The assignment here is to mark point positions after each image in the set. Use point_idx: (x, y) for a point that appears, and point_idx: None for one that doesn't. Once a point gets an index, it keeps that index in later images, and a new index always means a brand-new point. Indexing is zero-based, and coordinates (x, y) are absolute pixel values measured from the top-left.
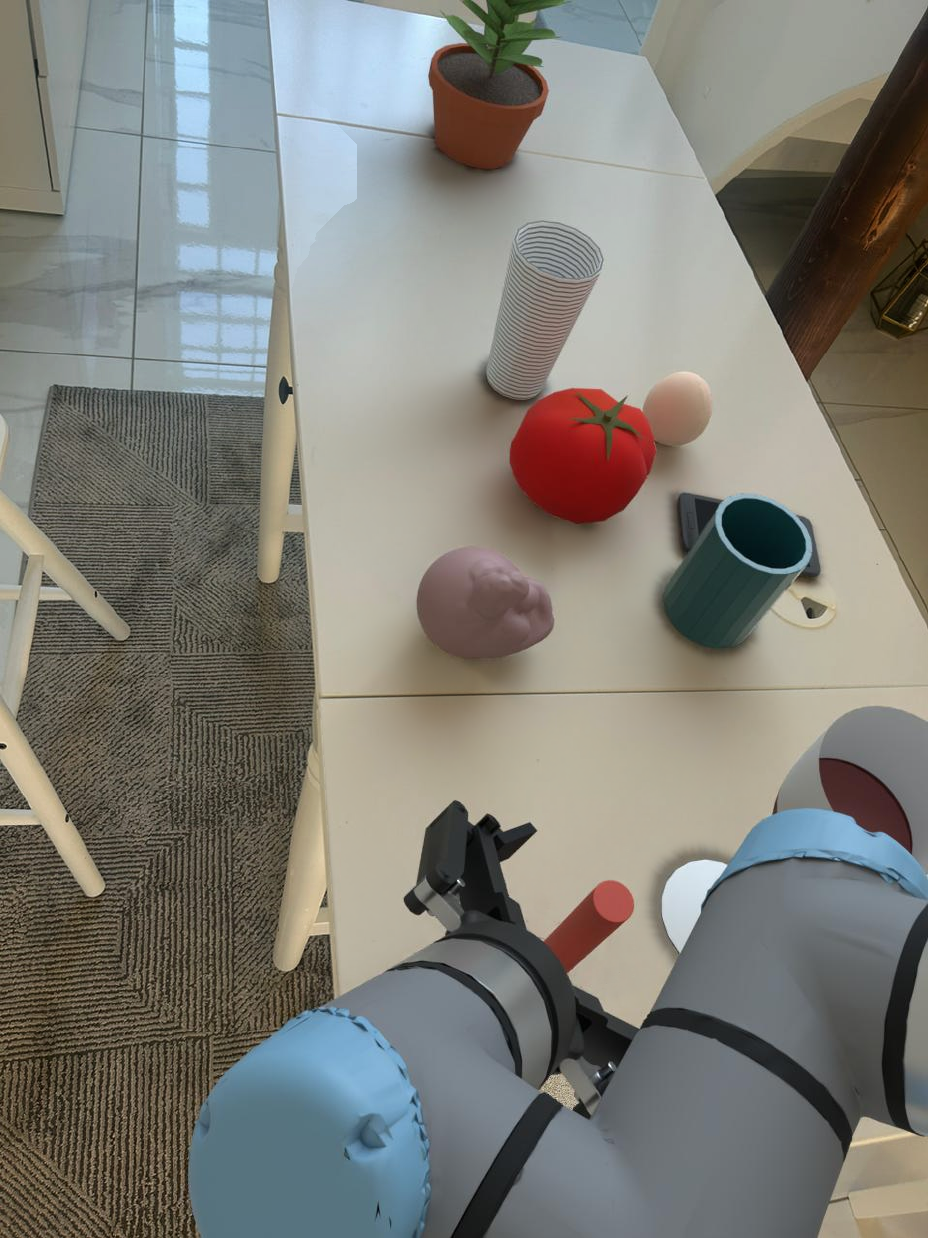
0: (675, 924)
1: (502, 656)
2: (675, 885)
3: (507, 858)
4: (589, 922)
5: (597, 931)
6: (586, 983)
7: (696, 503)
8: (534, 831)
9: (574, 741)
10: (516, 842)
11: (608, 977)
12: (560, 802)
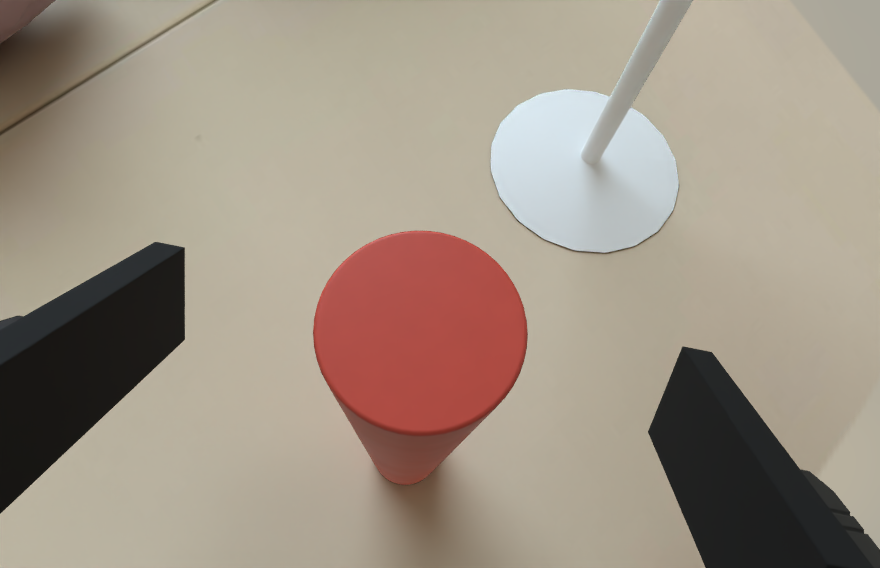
0: (542, 216)
1: (8, 14)
2: (505, 165)
3: (173, 346)
4: (395, 447)
5: (444, 446)
6: None
7: None
8: (170, 255)
9: (236, 76)
10: (103, 322)
11: None
12: (271, 172)
